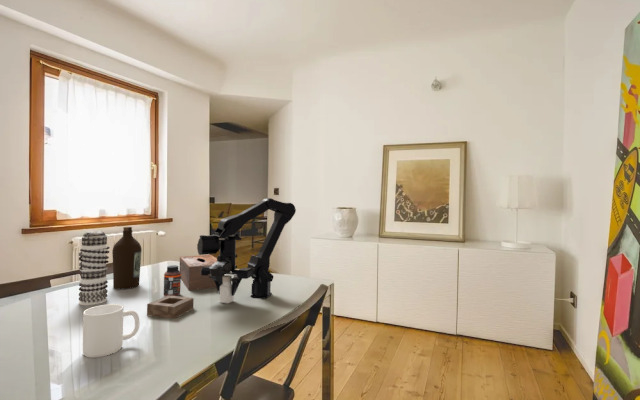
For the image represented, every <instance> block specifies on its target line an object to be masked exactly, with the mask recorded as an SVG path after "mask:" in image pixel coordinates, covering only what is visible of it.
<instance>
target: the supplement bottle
mask: <svg viewBox="0 0 640 400" xmlns="http://www.w3.org/2000/svg"><path fill="white" fill-rule="evenodd" d="M179 270H180V269H179V265H173V264H172V265H168V266H166V271H165V272H164V274H163V297H166V296H168V295H170V296H179V295H181V282H182V280H181V272H180V271H179Z"/></svg>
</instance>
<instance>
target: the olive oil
mask: <svg viewBox="0 0 640 400" xmlns="http://www.w3.org/2000/svg"><path fill="white" fill-rule="evenodd" d="M122 229H123V230H122V237H121V238H119V239H118V241H116V242H115V243H114V245H113V247H112V272H113V273H112V280H113V284H112V285H113V286H112V287H113V289H116V290H129V289H134V288H136V287H138V286H139V285H140V278H141V277H140V276H141V265H142V264H141V262H142V245H141V243H140V242H139V241H138V240H137V239H136V238H135V237H133V227H132V226H124V227H123V228H122Z"/></svg>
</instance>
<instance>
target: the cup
mask: <svg viewBox="0 0 640 400" xmlns="http://www.w3.org/2000/svg"><path fill="white" fill-rule="evenodd" d="M82 314H83V315H82V317H83V318H82V319H83V320H82V354H83V356H85V357H87V358H89V359H90V358H91V359H93V358H95V359H96V358H103V357H107V355H108V356H110V354H111V355H113V354H115V353H117V352H118V350H119V351H120V350H121V349H122V347H123V342H124V341H125V340H130V339H131V338H133V337H134V336H136V335H137V333H138V332H139V330H140V317H139V314H138V313H137V311H135V310H124V306H123V305H122V304H116V303H115V304H114V303H111V304H109V303H107V304H101V305H100V304H99V305H95V306H93V307H89V308H87V309H85V310H84V311H83V313H82ZM128 316H132V317H133V319H134V328H133V330H132V331H131V332H128V333H127V334H124V318H126V317H128ZM112 353H113V354H112Z"/></svg>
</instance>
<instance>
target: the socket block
mask: <svg viewBox="0 0 640 400" xmlns="http://www.w3.org/2000/svg"><path fill="white" fill-rule="evenodd" d="M194 300H195V299H194V297H187V296H179V295H178V296H170V295H168V296H163V297H161V298H159V299H156V300H153V301H151V302H149V303H147V304H146V316H149V317H150V316H151V317H156V316H157V317H158V318H166V319H172V318H173V319H177V318H178V317H181V316H182V315H184V314H186V313H188V312H189V311H192V310H193V309H194ZM157 317H156V318H157Z"/></svg>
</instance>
